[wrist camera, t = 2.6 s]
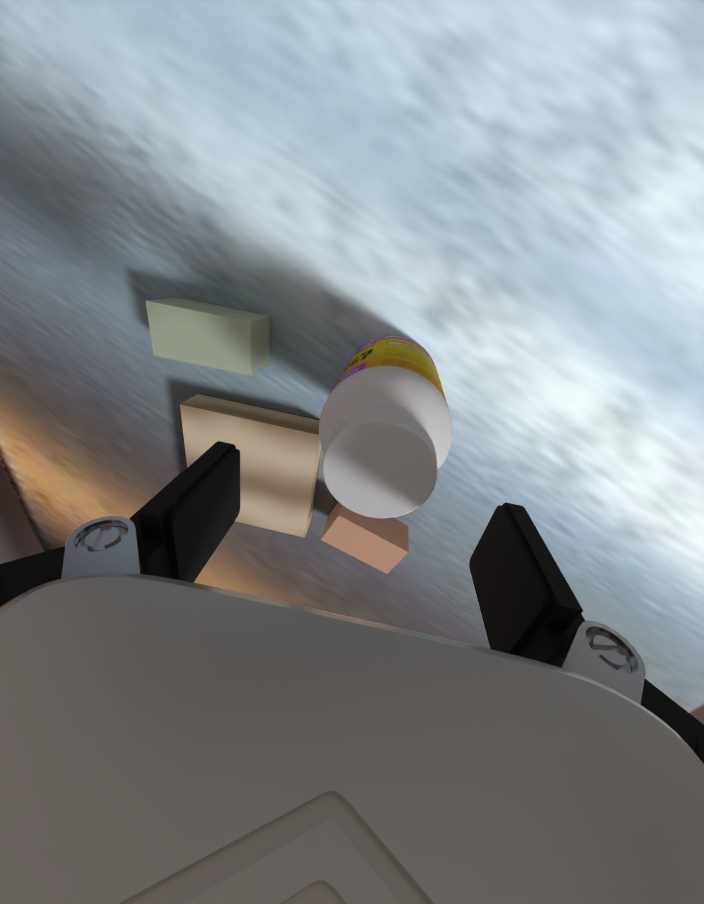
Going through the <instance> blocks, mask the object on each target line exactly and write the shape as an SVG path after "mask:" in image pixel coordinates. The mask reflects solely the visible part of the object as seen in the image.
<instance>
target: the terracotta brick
mask: <svg viewBox="0 0 704 904" xmlns="http://www.w3.org/2000/svg"><path fill="white" fill-rule="evenodd" d="M321 540H322V541H324V542H326V543H328V544H330V545H332V546H334V547H336V548H338V549H340V550H342V551H343V552H345V553H347V554H349V555H351V556H353V557H355V558H357V559H359V560H361V561H363V562H365V563H367V564H369V565H371V566H373V567H375V568H376V569H378V570H380V571H382V572H384V573H386V574H387V573H388V572H389V571H390V570H391V569H392V568H393V567H394V566H395V565H396V564H397V563H398V562H399V561H400V560H401V559H402V558H403V557H404V556H405V555H406V554H408V553H409V547H408V526H407V525H405V524H403V523H401V522H399V521H398V520H396V519H394V518H373V517H367V516H363V515H360V514H358V513H355V512H353V511H351V510H349V509H348V508H346V507H345V506H343V505H342V504H340V503H339V502H338V503H337V504H336V506H335V507H334V508H333V510H332V511H331V513H330V514H329V515H328V518H327V522H326V525H325V528H324V531H323V534H322V538H321Z"/></svg>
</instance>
